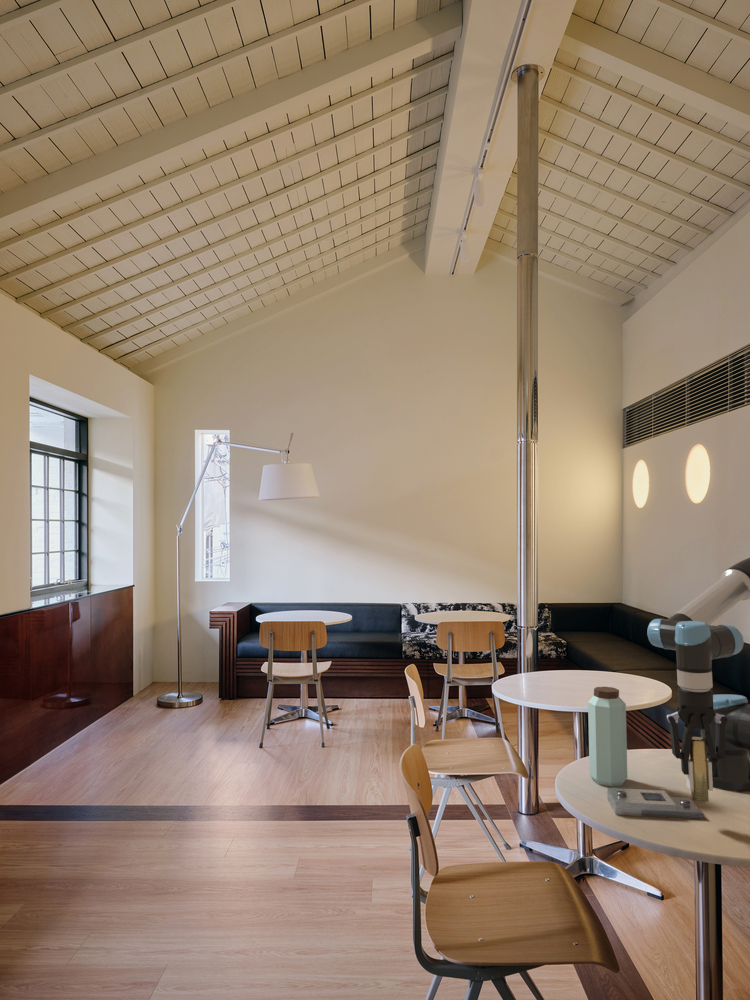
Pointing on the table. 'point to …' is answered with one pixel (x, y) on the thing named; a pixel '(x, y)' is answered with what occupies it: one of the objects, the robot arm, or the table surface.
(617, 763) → the water bottle
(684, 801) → the chain ends
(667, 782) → the table surface
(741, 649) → the robot arm
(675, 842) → the table surface
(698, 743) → the pin
